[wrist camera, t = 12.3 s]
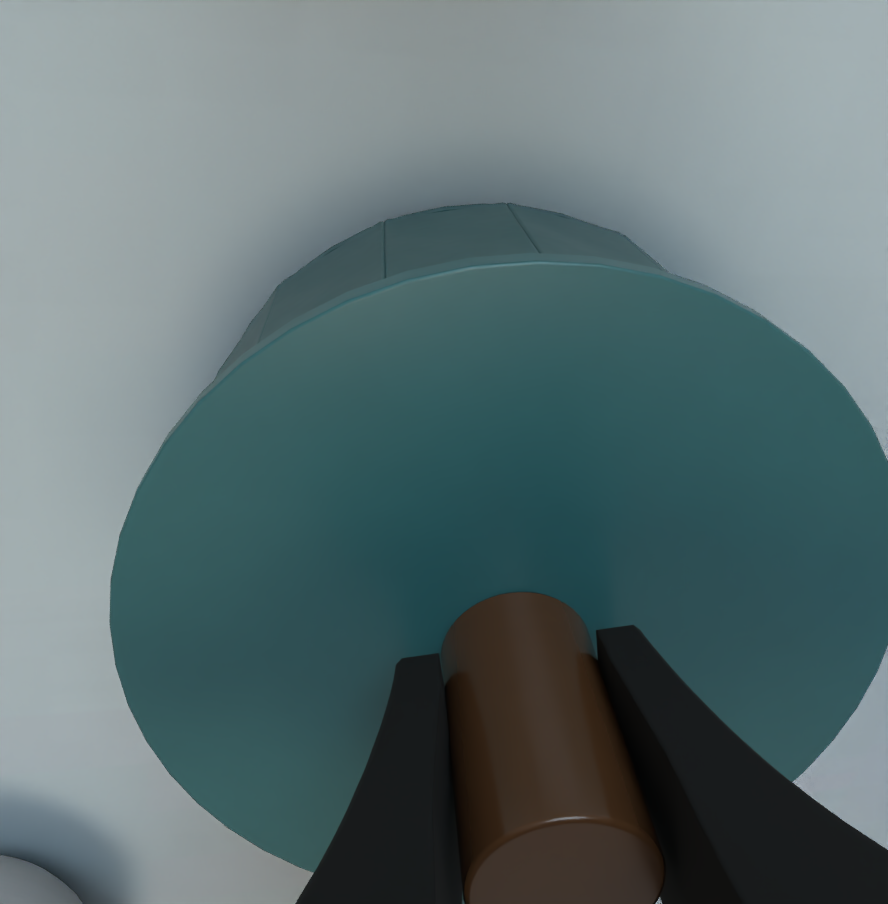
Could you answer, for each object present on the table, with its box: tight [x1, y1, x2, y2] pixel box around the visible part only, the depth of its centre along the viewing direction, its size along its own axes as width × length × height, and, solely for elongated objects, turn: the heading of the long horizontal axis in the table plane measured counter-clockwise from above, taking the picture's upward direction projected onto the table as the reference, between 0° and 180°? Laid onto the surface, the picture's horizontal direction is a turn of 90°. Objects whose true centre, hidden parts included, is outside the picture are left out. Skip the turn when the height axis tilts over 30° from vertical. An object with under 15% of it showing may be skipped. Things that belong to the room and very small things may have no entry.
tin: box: [215, 203, 669, 379], centre depth 18 cm, size 13×13×5 cm
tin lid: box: [110, 253, 888, 904], centre depth 13 cm, size 14×14×6 cm
